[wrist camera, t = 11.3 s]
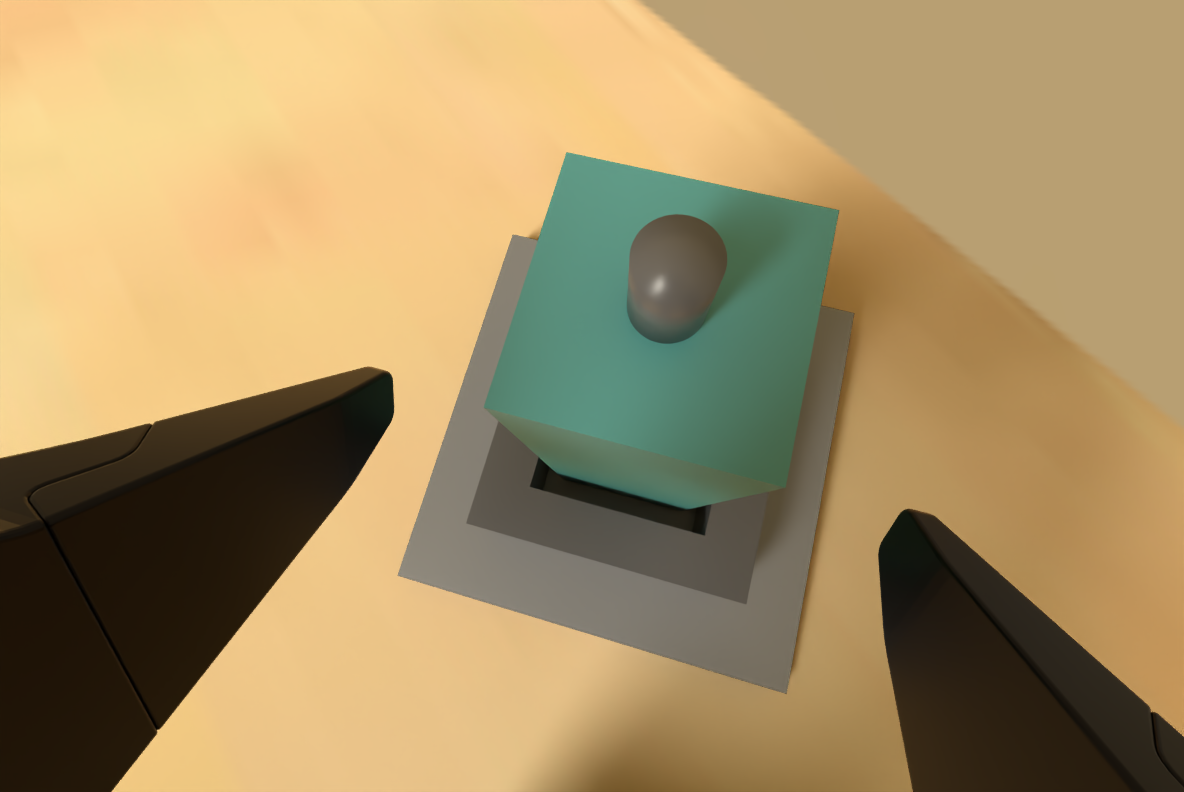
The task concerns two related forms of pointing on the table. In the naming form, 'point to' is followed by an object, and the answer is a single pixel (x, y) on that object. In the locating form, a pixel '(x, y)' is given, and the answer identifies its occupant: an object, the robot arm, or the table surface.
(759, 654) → the socket
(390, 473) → the table surface
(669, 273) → the plug
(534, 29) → the table surface
